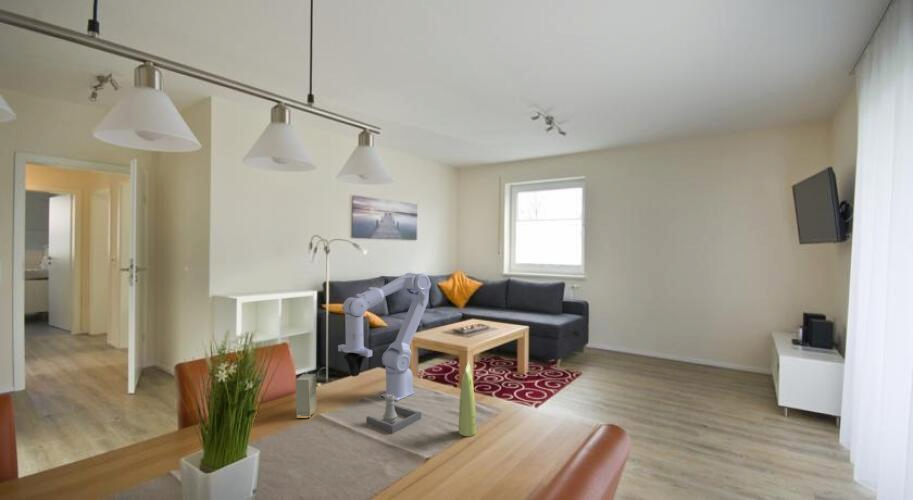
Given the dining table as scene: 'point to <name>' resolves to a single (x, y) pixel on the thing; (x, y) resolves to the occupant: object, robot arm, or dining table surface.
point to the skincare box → (306, 394)
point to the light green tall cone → (467, 405)
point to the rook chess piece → (390, 409)
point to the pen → (393, 428)
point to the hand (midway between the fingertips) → (355, 375)
